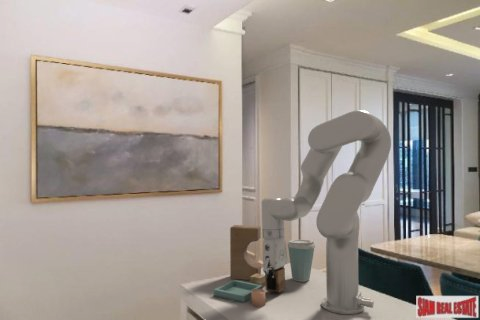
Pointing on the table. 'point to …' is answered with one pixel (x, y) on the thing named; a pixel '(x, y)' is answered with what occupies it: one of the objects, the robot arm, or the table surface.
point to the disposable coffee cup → (301, 258)
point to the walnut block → (278, 279)
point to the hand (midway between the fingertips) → (275, 286)
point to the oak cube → (258, 279)
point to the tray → (236, 291)
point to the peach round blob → (258, 297)
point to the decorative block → (243, 251)
